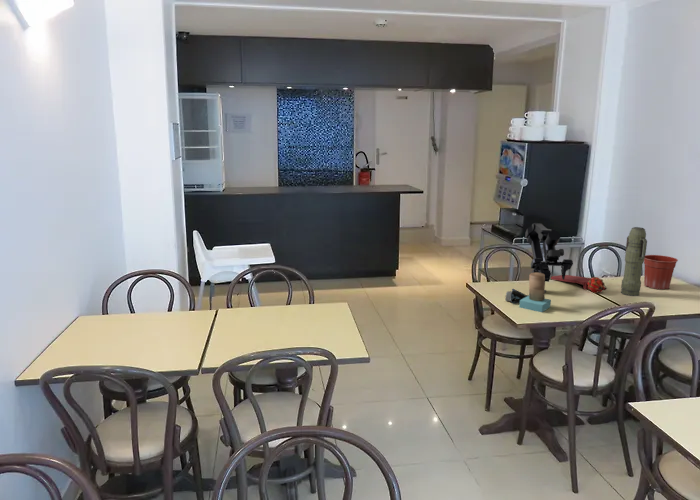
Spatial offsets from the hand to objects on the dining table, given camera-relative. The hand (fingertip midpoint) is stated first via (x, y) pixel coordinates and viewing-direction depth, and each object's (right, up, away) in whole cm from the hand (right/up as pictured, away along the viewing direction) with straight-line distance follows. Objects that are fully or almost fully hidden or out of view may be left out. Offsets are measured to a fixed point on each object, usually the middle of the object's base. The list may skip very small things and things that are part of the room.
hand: (553, 279), depth 261 cm
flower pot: (+71, -6, +38) cm, 81 cm away
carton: (+28, -5, +44) cm, 52 cm away
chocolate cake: (-15, -12, +11) cm, 22 cm away
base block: (-9, -14, +2) cm, 17 cm away
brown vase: (-7, -9, +2) cm, 12 cm away
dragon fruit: (+32, -9, +27) cm, 43 cm away
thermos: (+49, -9, +25) cm, 56 cm away
